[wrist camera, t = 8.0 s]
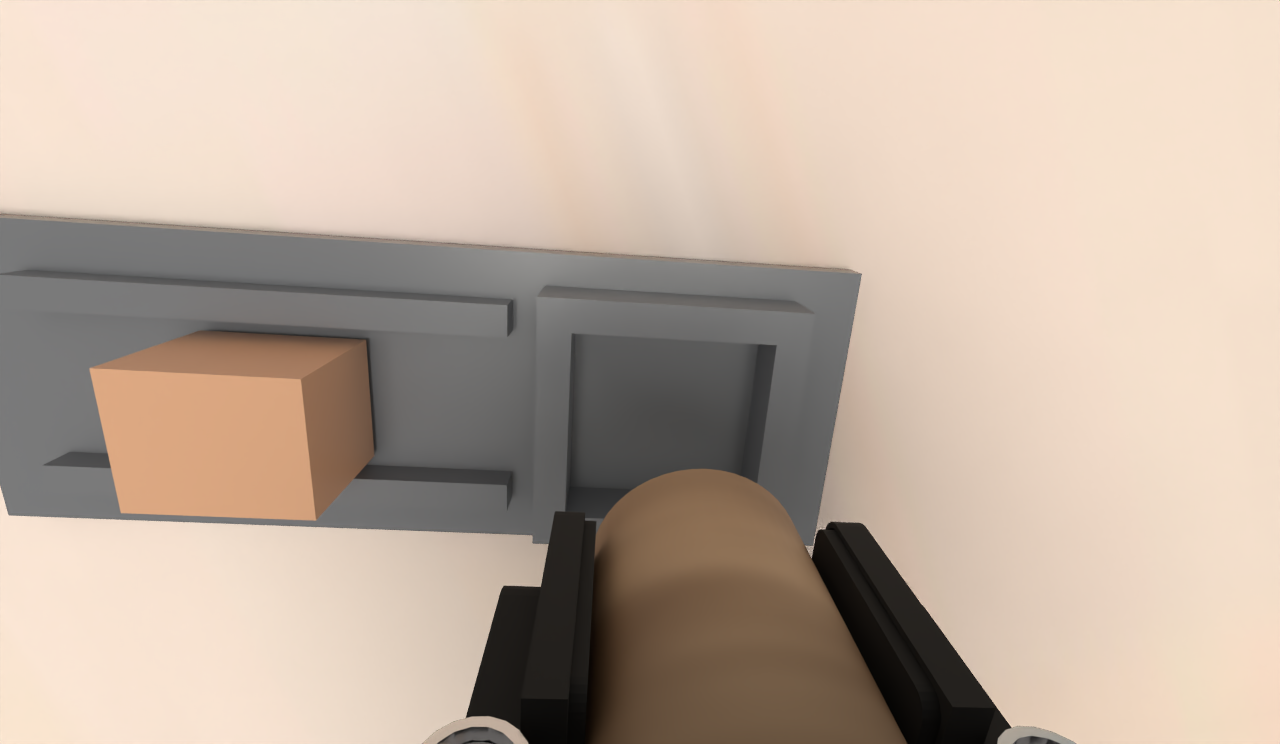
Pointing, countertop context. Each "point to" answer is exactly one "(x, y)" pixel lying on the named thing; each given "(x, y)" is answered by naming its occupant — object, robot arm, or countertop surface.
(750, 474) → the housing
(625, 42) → the countertop surface
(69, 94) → the countertop surface
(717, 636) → the brown round pin
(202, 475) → the cardboard brown cuboid
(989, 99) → the countertop surface
